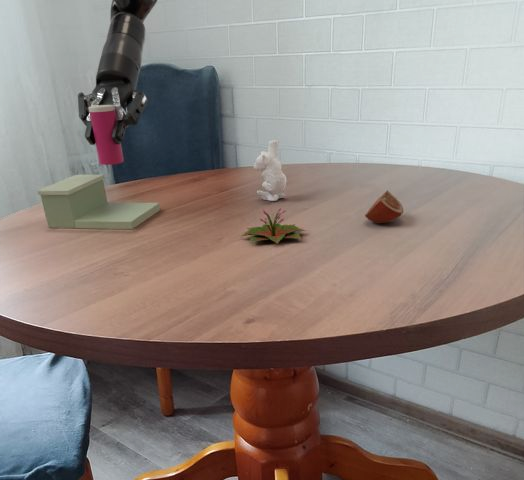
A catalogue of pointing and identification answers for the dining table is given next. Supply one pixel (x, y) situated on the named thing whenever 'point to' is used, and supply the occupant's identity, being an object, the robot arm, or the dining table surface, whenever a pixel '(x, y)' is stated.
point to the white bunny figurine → (271, 173)
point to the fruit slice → (385, 209)
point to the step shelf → (90, 205)
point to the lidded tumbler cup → (105, 134)
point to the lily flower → (273, 230)
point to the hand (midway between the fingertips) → (103, 141)
